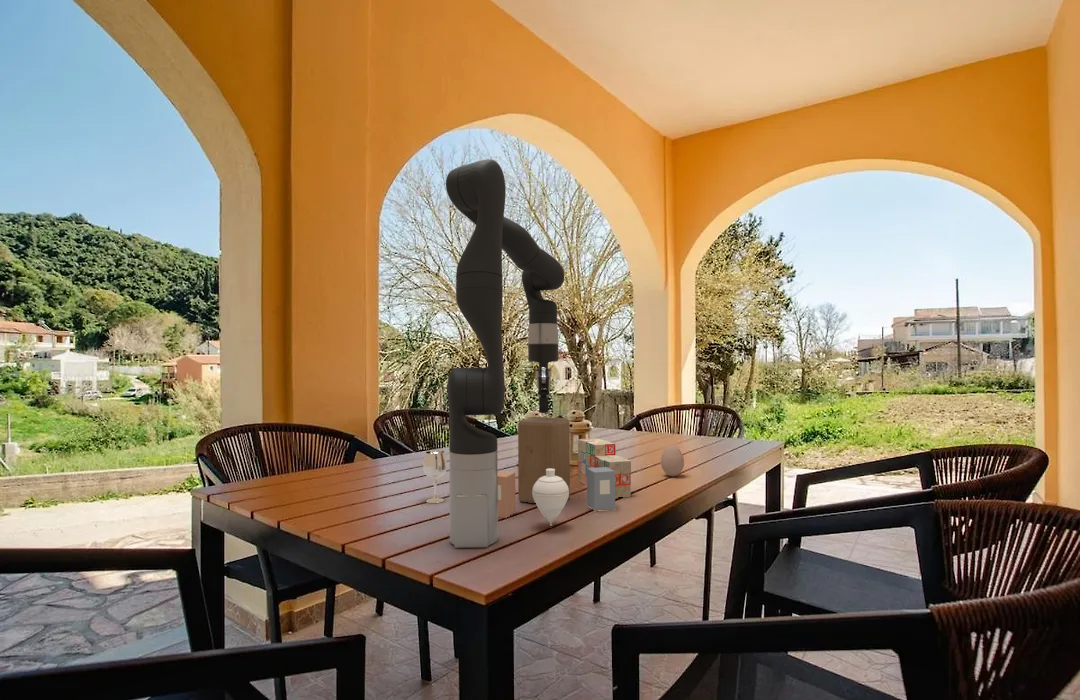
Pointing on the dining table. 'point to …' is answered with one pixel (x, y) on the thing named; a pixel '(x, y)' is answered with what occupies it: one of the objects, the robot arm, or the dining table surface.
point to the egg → (672, 461)
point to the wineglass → (435, 469)
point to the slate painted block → (601, 488)
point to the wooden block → (542, 452)
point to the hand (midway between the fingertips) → (543, 412)
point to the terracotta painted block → (506, 493)
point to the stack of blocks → (604, 463)
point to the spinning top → (550, 495)
